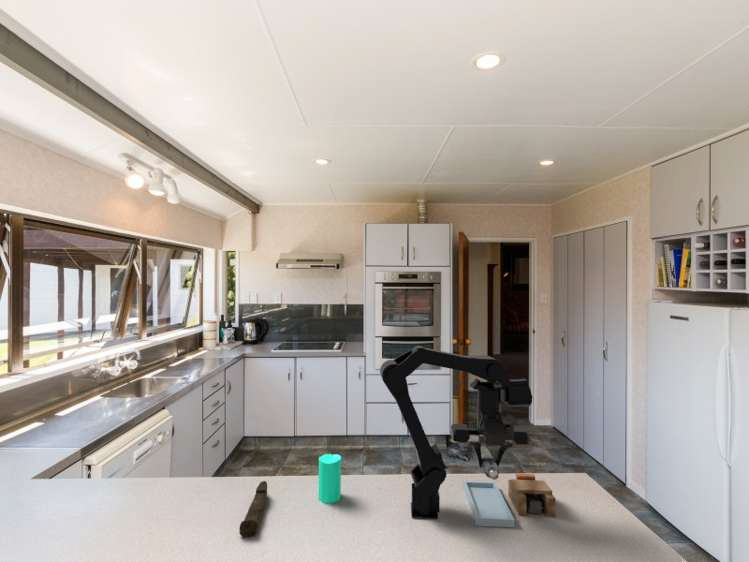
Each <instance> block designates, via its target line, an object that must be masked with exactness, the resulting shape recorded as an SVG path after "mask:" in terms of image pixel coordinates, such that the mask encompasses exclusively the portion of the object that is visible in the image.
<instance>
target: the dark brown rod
mask: <svg viewBox="0 0 749 562" xmlns="http://www.w3.org/2000/svg"><path fill="white" fill-rule="evenodd" d="M255 489H256V490H255V495H254V496H253V498H252V499H253V500H252V501H251V503H250V506H249V507H248V511H247V513H246V515H245V517H244V520H241V521H240V525H239V530H238V532H239V535H240V536H241V537H242V538H251V537H255V536H256V535H257V533H258V529H259V522H260V520H261V517H262V513H263V511H264V507H265V506H266V504H267V500H268V499H267V498H268V483H267V481H266V480H262V481H261V482H260V483H259V484H258V485H257V487H256V488H255Z"/></svg>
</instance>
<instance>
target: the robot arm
mask: <svg viewBox="0 0 749 562" xmlns="http://www.w3.org/2000/svg"><path fill="white" fill-rule="evenodd" d="M423 364H426V365H431V366H437V367H440V368H445V369H450V370H456V371H461V372H466V373H468V374H471V375H473V376H475V377H478V378H475V379H474V380H473V381H471V383H469V385H468V386H469V387H470V388H471V389H473V390H475V391H476V390H477V404H476V405H477V407H476V410H477V411H476V412H477V415H476V417H477V418H476V419H477V420H476V421H477V422H476V428H468V425H467V424H466V423H452V424H451V426H450V435H451V438H452V441H453V442H456V443H468V445H469V446H472V448H473V450H474V454H475V456H476V459H477V463H478V466H479V468H480V469H483V468H482V457H481V446H482V443H481V441H480V438H483V441H484V444H485V446H489V447H492V446H494V461H495V463H496V464H497V466H498V467H499V466H500V463H501V460H502V459H503V456H504V454H505V452H506V450H507V449H508V448H512V447H513V446H514V445H513V443H512V440H513V442H514V443H515V444H516V445H529V444H530V436H529V435H530V434H529V433H528V432H527V431H526V429H524V428H523V427H522V426H521V425H514V424H513V423H503V419H502V417H503V416H502V413H501V410H502V409H501V402H502V403H504V406H506V407H530V406H531V405H532V403H533V395H532V391H531V388H530V386H529V380H527V379H525V378H519V379H510V378H509V377H508V376H507V374H506V373H505V368H504V365H503V364H502V362H501V361H500V360H498V359H496V358H493V357H491V356H489V355H482V354H481V355H478V354H477V355H476V354H475V355H462V354H458V353H453V352H447V351H443V350H438V349H433V348H427V347H424V346H421V345H415V346H414V347H413V348H412V349H410V350H409V351H406V352H404V353H403V354H401V355H399V356H397V357H395V358H394V359H393V360H392V359H389V360H386V361H383V363H382V364H381V366H380V369H379V373H380V374H379V375H380V377H381V379H382V382H383V383H384V385H385V386H386V389H388V391H389V392H390V395H391V396H392V397H393V399H394V400H395V403H397V406H398V409H399V411H400V413H401V414H400V415H401V416H402V418H403V421H404V423H405V425H406V428H407V431H408V433H409V435H410V437H411V440H412V442H413V445H414V448H415V453H416V459H417V464H416V465H415V466H414V467H413V468H412V469H411V471H410V472H409V473H410V475H411V478H412V481H413V482H411V502H410V511H411V512H410V513H411V518H412V519H425V520H426V519H429V520H433V519H434V520H438V519H439V513H440V510H441V508H440V507H441V506H440V501H441V499H440V497H441V496H440V493H439V491H440V488H441V485H442V484H443V483H444V482H445V480H446V478H447V471H446V470H447V469H448V466H447V464H446V462H445V461H444V459H443V455H442V452H441V451H440V448H439V447H438V445H437V444H436V443H435V444H433V445H431V444H430V442H429V440H428V438H427V435H426V432H425V430H424V427H423V426H422V423H421V421H420V418H419V416H418V413H417V411H416V408H415V406H414V404H413V401H412V398H411V396H410V392H409V386H408V381H407V378H408V377H409V376H410V375H411V374H413V373H414V372H415V371H416V370H417V369H418V368H419V367H420V366H421V365H423ZM479 378H480V379H481V380H482V379H483V380H484V381H481V380H480V379H479ZM485 380H486V381H485ZM494 383H498V384H494Z"/></svg>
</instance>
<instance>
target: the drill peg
mask: <svg viewBox="0 0 749 562" xmlns="http://www.w3.org/2000/svg"><path fill="white" fill-rule="evenodd" d="M481 457H482V468H481V469H482V470H483V472H484V474H485V476H486V477H487V478H489V479H491V480H493V481H494V480H497V479H498V478H499V475H500V468H499V466H497V464H496V463H495V458H494V457H493V455H492V454H491V453H490V450H489V449H488V448H487V447H486V446H483V445H481Z"/></svg>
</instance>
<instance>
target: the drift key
mask: <svg viewBox="0 0 749 562" xmlns="http://www.w3.org/2000/svg"><path fill="white" fill-rule="evenodd" d="M515 480H536V475H535V474H534V473H515ZM524 494H525V496H526V510H528V512H529V513H530V514H542V507H541V501H540V499H539V498H538V496H537V495H536V494H534V493H524Z"/></svg>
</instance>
